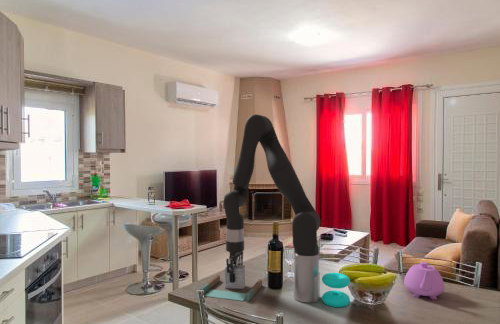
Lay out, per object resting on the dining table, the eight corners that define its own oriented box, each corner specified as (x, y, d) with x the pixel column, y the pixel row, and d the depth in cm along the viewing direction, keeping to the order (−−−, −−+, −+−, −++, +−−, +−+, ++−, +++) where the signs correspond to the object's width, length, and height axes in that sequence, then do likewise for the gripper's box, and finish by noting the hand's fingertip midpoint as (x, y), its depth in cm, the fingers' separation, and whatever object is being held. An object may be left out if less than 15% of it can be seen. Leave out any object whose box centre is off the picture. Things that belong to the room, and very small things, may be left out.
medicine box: (245, 285, 152) (245, 264, 152) (244, 289, 148) (244, 268, 148) (226, 284, 153) (226, 264, 153) (224, 288, 149) (224, 267, 149)
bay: (262, 285, 152) (262, 279, 152) (248, 301, 135) (248, 295, 135) (217, 280, 158) (217, 274, 158) (199, 295, 141) (199, 289, 141)
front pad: (249, 294, 142) (249, 293, 142) (243, 301, 136) (243, 300, 136) (211, 289, 147) (211, 289, 147) (204, 296, 141) (204, 295, 141)
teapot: (449, 307, 130) (449, 272, 129) (406, 302, 134) (406, 268, 134) (440, 288, 149) (440, 258, 148) (402, 284, 153) (402, 255, 153)
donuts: (355, 278, 131) (331, 281, 128) (355, 306, 131) (331, 310, 128) (339, 270, 140) (316, 273, 137) (339, 296, 141) (316, 299, 137)
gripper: (237, 243, 142) (237, 286, 143) (249, 236, 156) (249, 275, 156) (219, 242, 145) (220, 284, 145) (232, 235, 158) (232, 273, 159)
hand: (235, 279), depth 151 cm, fingers open, 5 cm apart
